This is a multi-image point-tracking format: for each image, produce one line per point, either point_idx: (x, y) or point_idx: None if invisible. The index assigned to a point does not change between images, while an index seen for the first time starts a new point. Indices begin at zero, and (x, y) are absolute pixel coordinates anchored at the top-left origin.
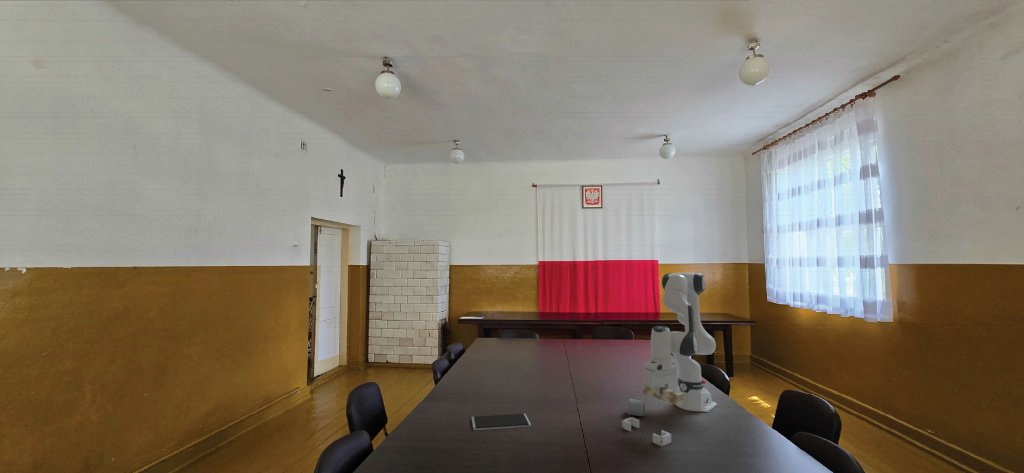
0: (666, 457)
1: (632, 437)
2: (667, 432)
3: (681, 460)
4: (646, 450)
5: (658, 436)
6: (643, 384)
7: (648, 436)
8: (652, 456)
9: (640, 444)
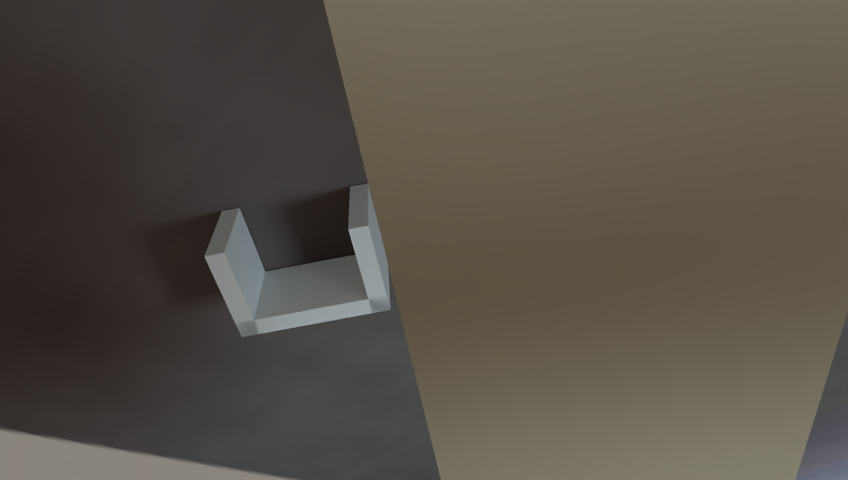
0: (182, 400)
1: (50, 55)
2: (378, 278)
3: (261, 442)
4: (77, 297)
5: (229, 310)
6: (332, 19)
7: (254, 100)
8: (81, 369)
9: (71, 205)
